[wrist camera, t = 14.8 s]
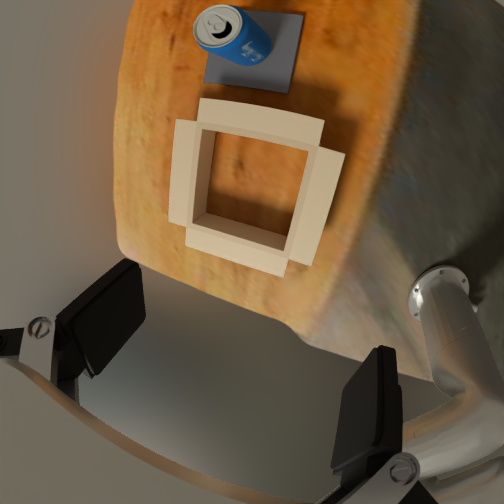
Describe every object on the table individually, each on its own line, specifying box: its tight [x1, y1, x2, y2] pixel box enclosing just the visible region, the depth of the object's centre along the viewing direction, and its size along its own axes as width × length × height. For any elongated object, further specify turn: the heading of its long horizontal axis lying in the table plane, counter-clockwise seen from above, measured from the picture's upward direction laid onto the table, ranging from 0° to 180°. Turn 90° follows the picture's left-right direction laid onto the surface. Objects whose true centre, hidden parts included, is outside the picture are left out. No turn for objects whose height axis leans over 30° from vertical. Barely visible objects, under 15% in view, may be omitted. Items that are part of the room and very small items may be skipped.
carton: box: [168, 98, 345, 277], centre depth 40 cm, size 24×24×5 cm
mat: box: [204, 10, 304, 94], centre depth 31 cm, size 13×13×1 cm
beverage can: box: [193, 5, 272, 66], centre depth 26 cm, size 6×6×12 cm
